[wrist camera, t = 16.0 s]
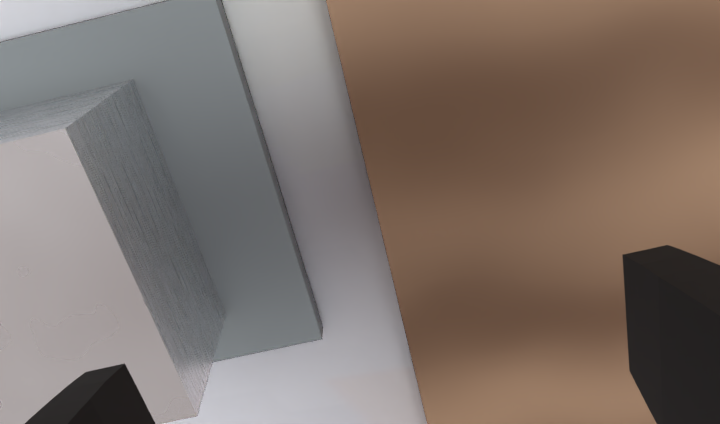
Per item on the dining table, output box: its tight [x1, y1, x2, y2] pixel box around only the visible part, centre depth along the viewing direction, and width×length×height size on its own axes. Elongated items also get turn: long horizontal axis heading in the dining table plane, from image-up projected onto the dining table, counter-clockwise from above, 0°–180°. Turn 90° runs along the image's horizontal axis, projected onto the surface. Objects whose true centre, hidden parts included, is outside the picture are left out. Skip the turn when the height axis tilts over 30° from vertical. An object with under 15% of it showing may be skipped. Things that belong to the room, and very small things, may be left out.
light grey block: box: [0, 79, 226, 424], centre depth 14 cm, size 7×5×4 cm
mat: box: [0, 0, 323, 362], centre depth 16 cm, size 10×10×1 cm
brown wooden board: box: [326, 0, 720, 424], centre depth 15 cm, size 22×9×2 cm, turn 13°
